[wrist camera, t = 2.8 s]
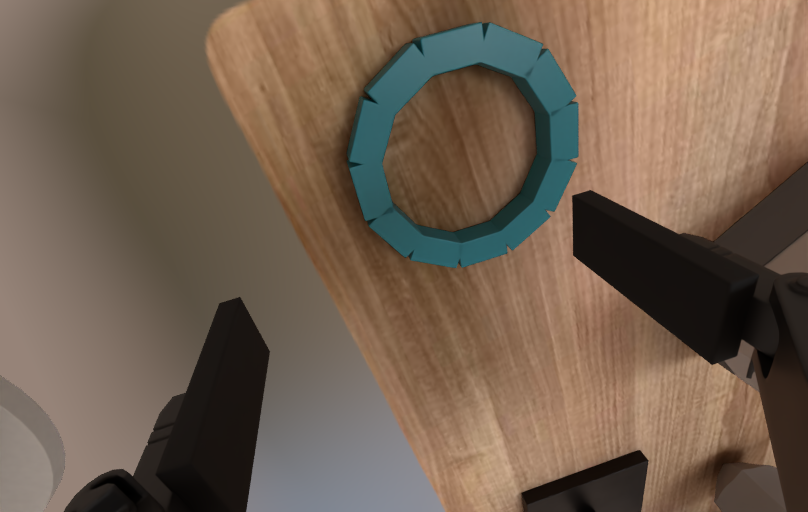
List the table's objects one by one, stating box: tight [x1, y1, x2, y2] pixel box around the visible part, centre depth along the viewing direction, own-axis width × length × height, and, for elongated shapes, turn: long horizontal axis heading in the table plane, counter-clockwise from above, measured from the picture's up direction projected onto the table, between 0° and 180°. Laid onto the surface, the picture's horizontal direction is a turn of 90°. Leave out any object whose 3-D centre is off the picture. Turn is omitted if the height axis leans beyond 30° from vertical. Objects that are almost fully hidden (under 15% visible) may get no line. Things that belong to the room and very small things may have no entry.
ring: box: [347, 22, 578, 268], centre depth 26 cm, size 15×15×2 cm
